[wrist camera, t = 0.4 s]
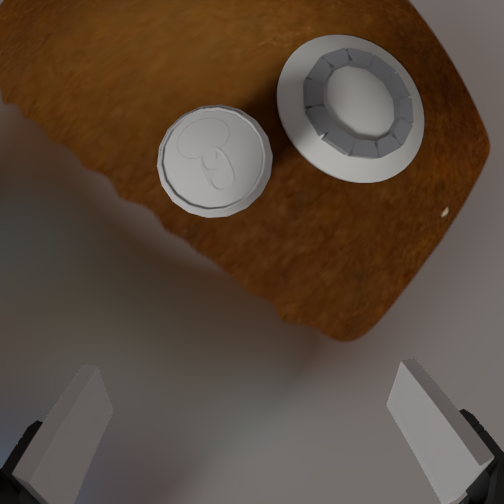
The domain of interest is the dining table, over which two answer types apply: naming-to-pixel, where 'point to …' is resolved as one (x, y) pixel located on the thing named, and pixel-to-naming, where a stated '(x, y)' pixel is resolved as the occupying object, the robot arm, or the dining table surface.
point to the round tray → (350, 108)
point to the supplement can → (214, 161)
